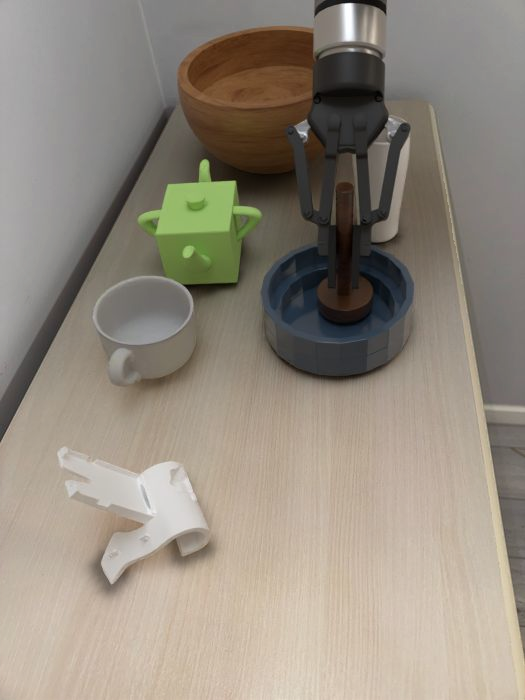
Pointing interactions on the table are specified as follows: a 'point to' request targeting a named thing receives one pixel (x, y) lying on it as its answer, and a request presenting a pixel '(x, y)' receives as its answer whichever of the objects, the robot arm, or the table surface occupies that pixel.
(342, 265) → the wooden stand
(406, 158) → the drinking glass
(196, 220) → the teapot
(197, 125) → the bowl
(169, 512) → the plastic part
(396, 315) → the mixing bowl
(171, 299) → the teacup
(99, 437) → the table surface
